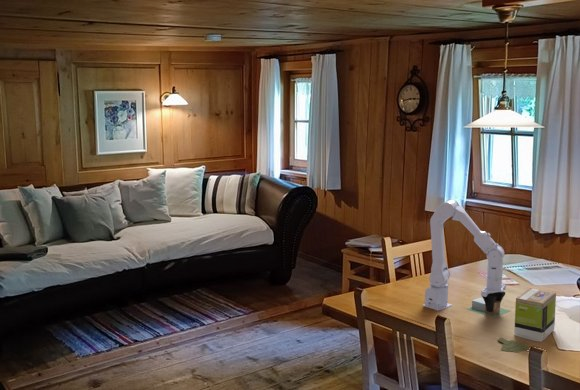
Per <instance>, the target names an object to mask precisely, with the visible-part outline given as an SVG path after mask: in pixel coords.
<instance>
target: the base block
mask: <svg viewBox="0 0 580 390" xmlns="http://www.w3.org/2000/svg"><path fill="white" fill-rule="evenodd" d="M471 307H472V308H475V309H479V310H482V311H485V307H486V305H485V301H484V299H483V297H482V296H481V297H478V298H475V299H473V300H471Z"/></svg>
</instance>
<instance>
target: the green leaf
mask: <svg viewBox="0 0 580 390" xmlns="http://www.w3.org/2000/svg"><path fill="white" fill-rule="evenodd" d="M497 341H499V342H500V343H502V346H501V348H500V351H502V352H503V351H505V352H513V353H516V354H517V353H521V352H524V351H525V352H528V351H527V350H529V348H530V347H531V346H530V345H526V344H524V343H521V342H518V341H516V340H513V339H510V340H507V339H505V338H503V337H498V339H497Z"/></svg>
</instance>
